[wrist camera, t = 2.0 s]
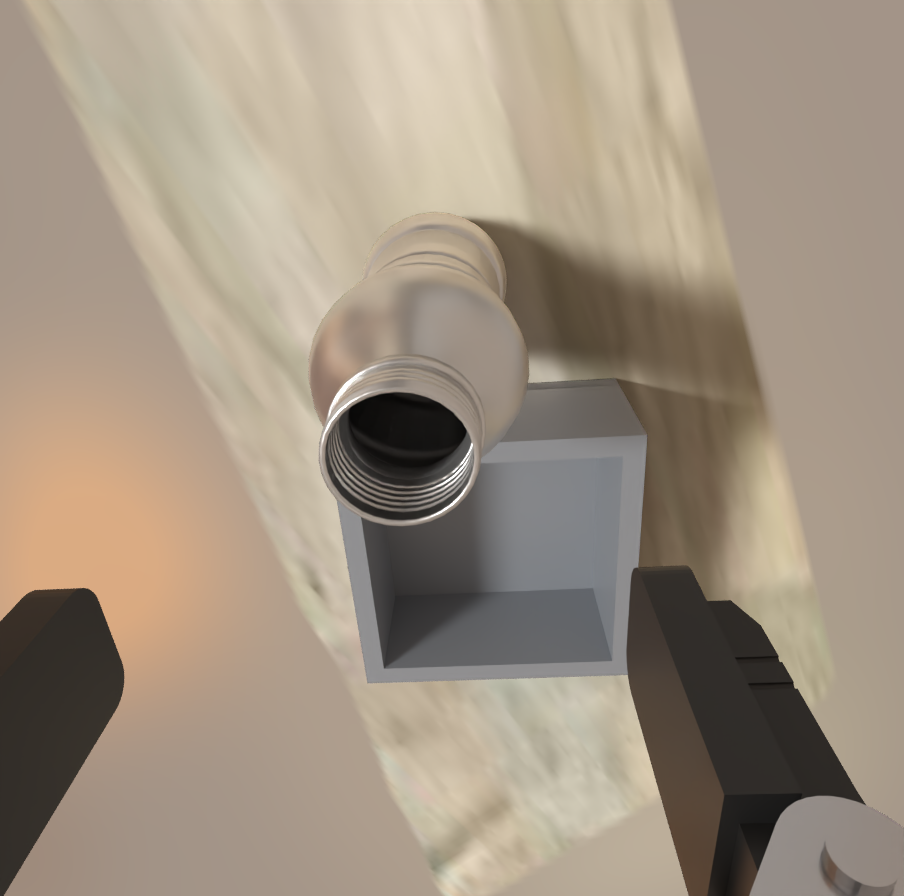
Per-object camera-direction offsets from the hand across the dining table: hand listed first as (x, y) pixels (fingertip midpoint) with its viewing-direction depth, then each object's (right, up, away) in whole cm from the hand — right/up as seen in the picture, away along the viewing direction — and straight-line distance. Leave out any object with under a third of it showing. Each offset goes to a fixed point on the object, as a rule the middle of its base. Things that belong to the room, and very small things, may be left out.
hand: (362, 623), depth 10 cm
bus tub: (+3, 0, +28) cm, 29 cm away
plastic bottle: (+1, +11, +23) cm, 26 cm away
